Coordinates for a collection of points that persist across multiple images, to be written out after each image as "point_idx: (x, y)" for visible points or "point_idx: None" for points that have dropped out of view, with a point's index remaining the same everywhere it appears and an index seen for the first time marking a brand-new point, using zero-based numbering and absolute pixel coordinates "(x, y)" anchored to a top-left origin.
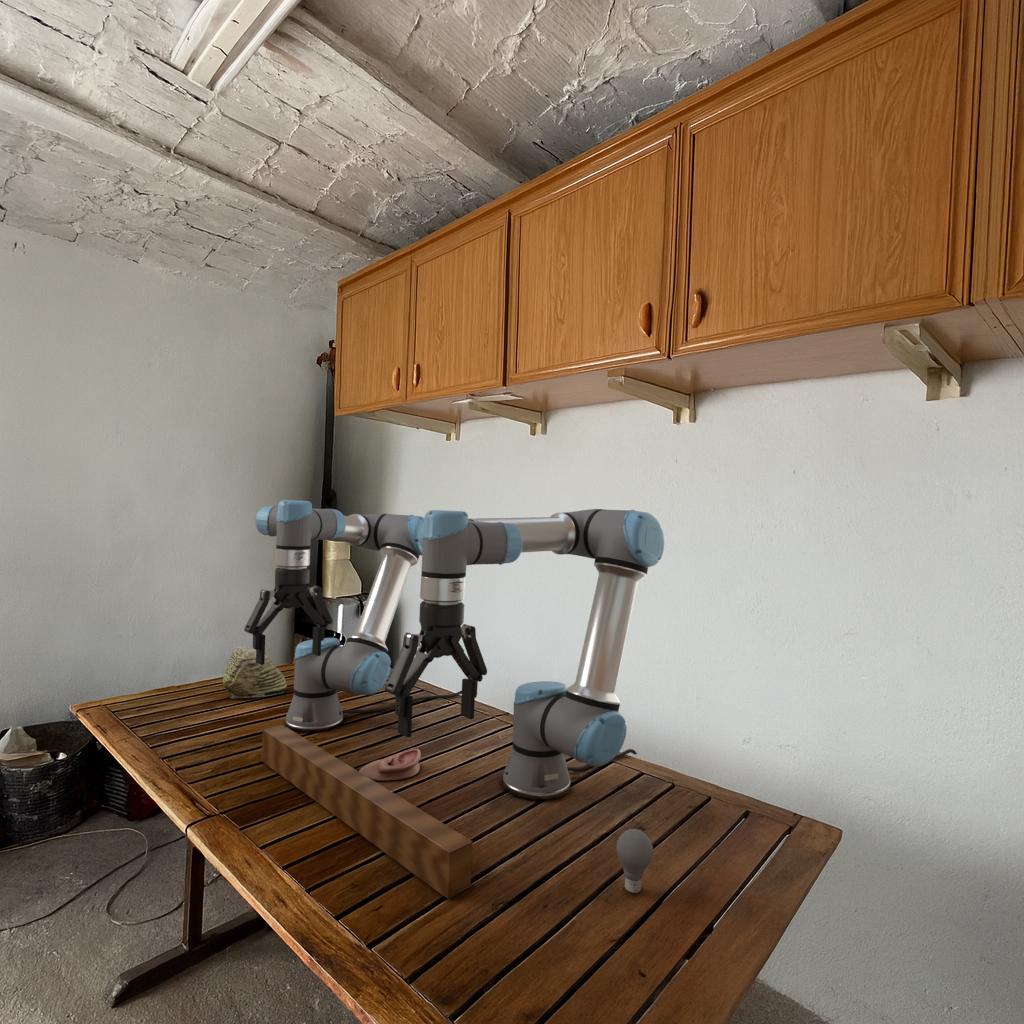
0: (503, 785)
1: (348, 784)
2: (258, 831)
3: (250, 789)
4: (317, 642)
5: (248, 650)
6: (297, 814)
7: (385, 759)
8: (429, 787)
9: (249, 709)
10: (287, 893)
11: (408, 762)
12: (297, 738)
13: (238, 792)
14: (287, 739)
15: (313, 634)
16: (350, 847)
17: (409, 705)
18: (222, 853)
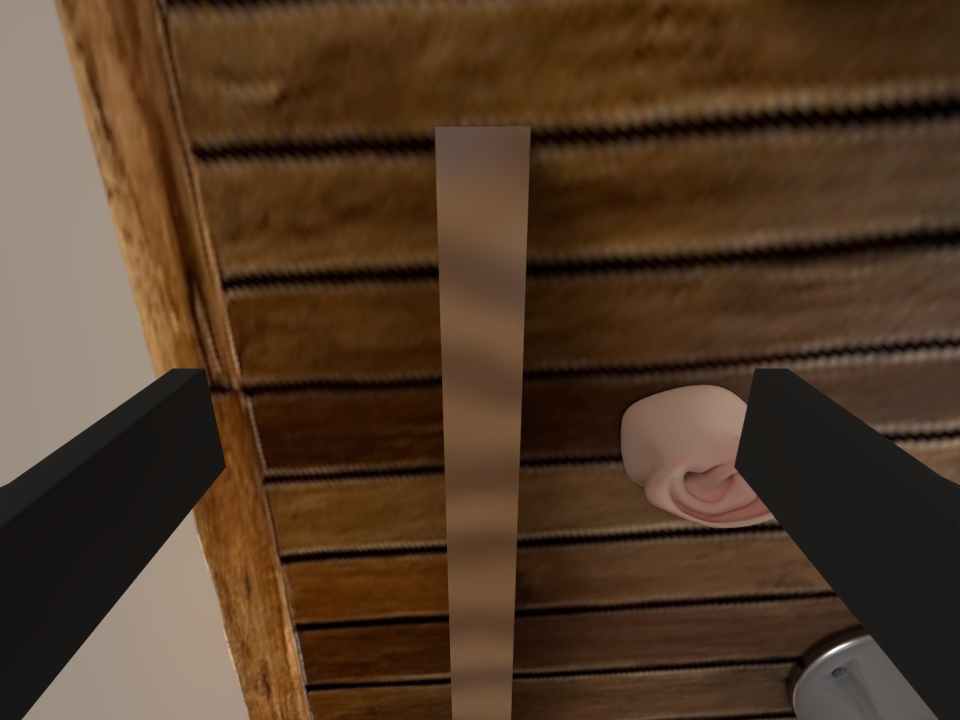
0: (811, 648)
1: (453, 654)
2: (295, 508)
3: (342, 314)
4: (812, 544)
5: None
6: (391, 496)
7: (696, 462)
8: (695, 563)
9: None
10: (279, 677)
11: (729, 507)
12: (502, 316)
13: (309, 311)
14: (467, 304)
15: (905, 508)
16: (419, 641)
17: None
18: (212, 536)
